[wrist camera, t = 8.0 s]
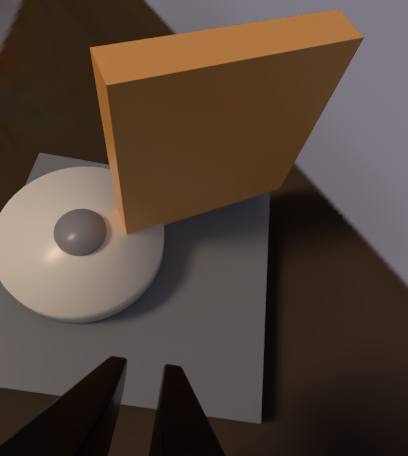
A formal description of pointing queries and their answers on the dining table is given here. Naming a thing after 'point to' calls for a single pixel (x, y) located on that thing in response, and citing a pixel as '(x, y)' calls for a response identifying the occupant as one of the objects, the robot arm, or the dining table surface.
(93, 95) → the dining table surface
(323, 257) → the dining table surface
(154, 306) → the panel
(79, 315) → the dial
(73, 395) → the robot arm
